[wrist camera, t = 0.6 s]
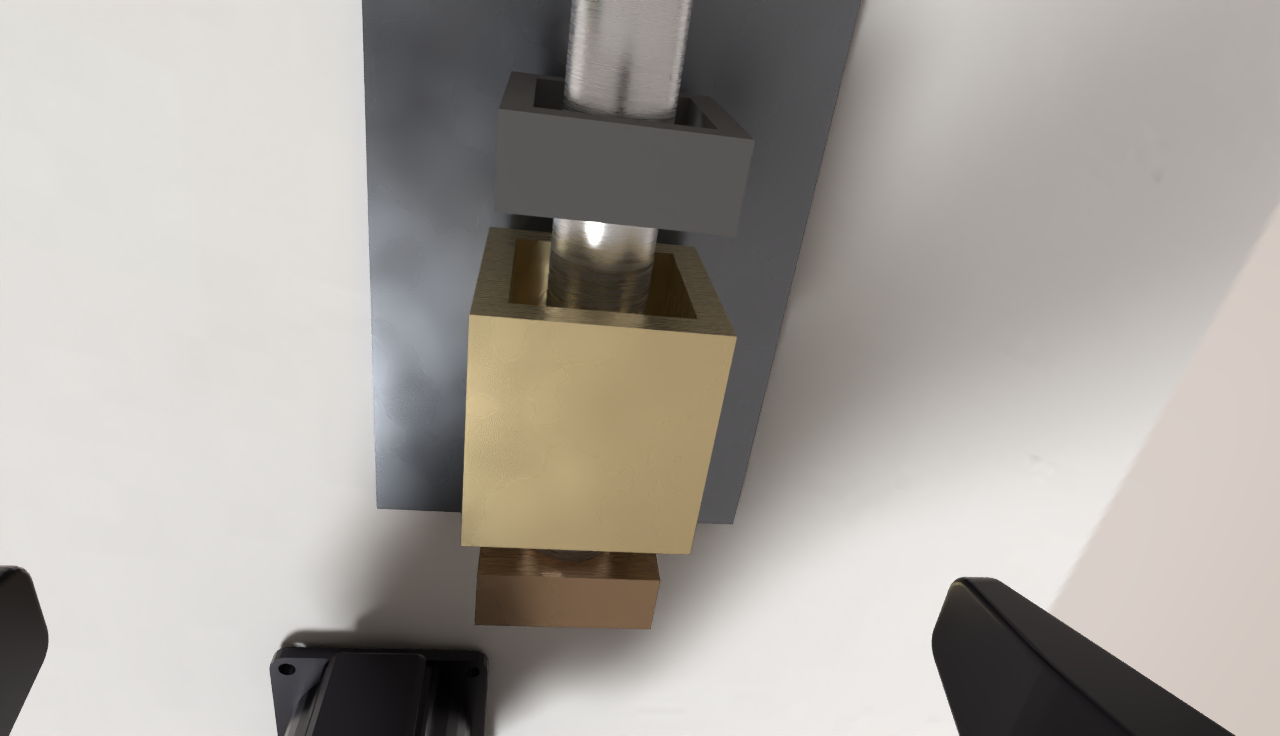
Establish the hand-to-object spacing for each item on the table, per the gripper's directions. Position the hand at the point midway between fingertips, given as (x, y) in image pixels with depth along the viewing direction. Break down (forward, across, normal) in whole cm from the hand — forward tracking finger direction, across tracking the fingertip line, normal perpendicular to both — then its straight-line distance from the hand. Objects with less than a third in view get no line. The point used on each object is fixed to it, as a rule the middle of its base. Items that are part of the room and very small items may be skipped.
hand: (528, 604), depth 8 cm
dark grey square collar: (+10, -1, -3) cm, 11 cm away
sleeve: (+11, -1, +2) cm, 11 cm away
